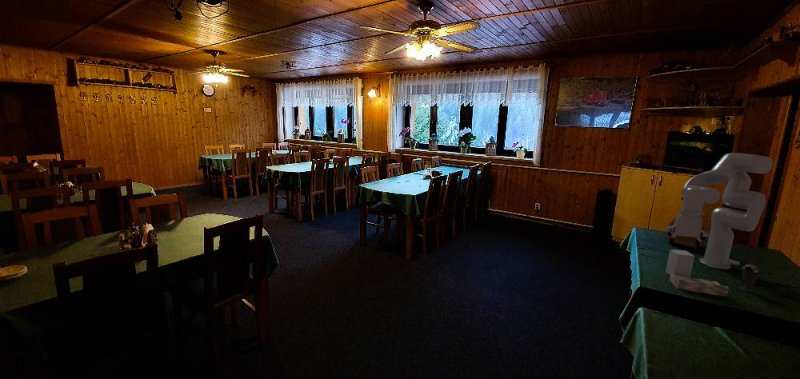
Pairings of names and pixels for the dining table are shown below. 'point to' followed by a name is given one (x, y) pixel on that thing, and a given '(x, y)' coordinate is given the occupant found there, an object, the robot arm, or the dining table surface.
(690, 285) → the display board
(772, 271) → the dining table surface
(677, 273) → the supplement box
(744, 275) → the sundae
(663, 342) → the dining table surface
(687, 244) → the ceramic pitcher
